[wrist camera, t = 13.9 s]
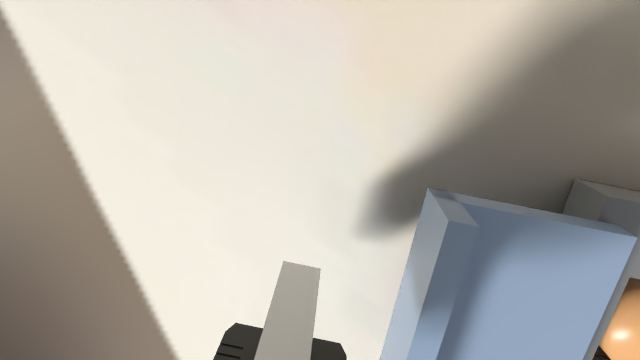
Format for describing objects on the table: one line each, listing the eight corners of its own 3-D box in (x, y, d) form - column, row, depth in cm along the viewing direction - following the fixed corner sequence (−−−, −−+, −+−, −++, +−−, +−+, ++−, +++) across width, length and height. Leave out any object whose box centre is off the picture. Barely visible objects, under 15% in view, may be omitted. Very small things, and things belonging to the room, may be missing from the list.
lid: (427, 187, 17) (448, 220, 13) (617, 225, 17) (685, 267, 13) (371, 387, 20) (377, 455, 16) (533, 419, 20) (572, 494, 16)
